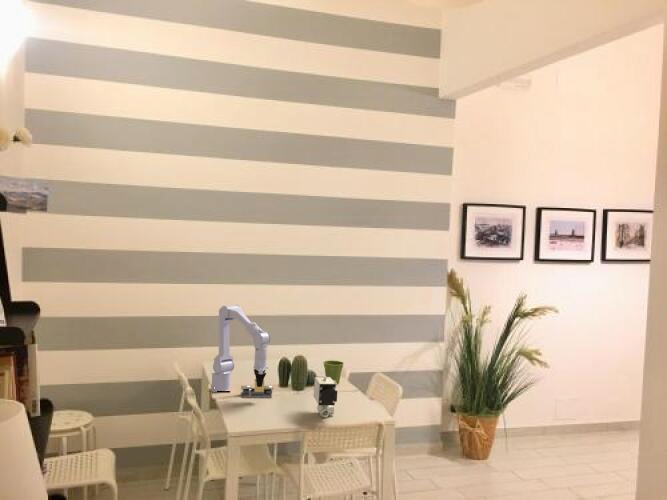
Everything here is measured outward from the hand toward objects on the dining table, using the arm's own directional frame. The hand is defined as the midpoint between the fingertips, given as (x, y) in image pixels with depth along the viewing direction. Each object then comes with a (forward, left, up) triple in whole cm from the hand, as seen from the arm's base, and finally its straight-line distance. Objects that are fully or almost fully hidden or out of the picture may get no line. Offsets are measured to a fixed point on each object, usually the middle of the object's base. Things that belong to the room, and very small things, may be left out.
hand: (259, 385), depth 291 cm
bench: (0, +12, -8) cm, 14 cm away
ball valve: (+29, -20, -8) cm, 36 cm away
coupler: (0, 0, -3) cm, 3 cm away
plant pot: (+43, +37, -8) cm, 58 cm away
